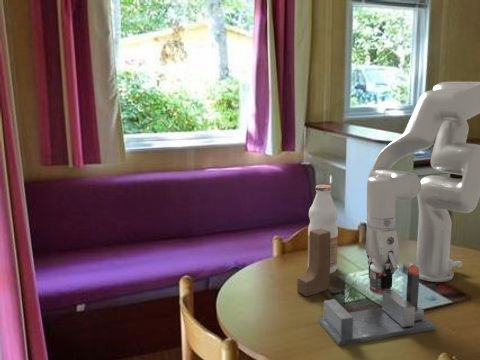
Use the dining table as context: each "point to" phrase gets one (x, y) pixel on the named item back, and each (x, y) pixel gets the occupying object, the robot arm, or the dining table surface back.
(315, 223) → the fruit juice
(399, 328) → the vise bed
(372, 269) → the pill bottle
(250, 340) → the dining table surface
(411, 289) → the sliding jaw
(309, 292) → the wooden block
